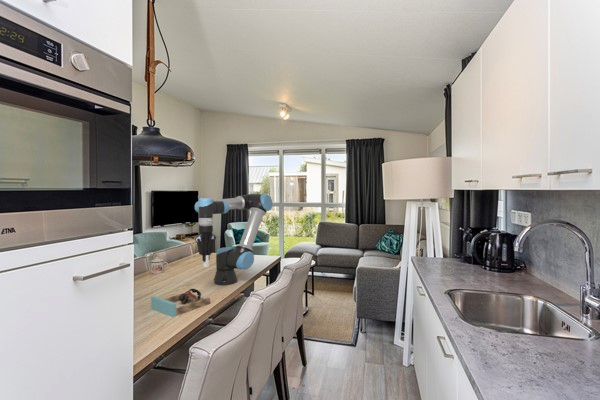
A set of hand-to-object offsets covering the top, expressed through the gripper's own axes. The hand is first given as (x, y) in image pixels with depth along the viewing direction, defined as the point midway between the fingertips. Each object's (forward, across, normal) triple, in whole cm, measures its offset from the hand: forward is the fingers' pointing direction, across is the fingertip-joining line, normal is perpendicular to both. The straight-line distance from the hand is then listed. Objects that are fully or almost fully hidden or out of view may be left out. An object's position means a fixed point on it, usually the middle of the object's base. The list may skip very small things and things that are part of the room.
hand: (206, 266), depth 172 cm
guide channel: (+18, -15, 0) cm, 23 cm away
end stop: (+18, -26, 0) cm, 31 cm away
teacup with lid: (+18, +16, +76) cm, 80 cm away
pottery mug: (+18, -10, +1) cm, 21 cm away
